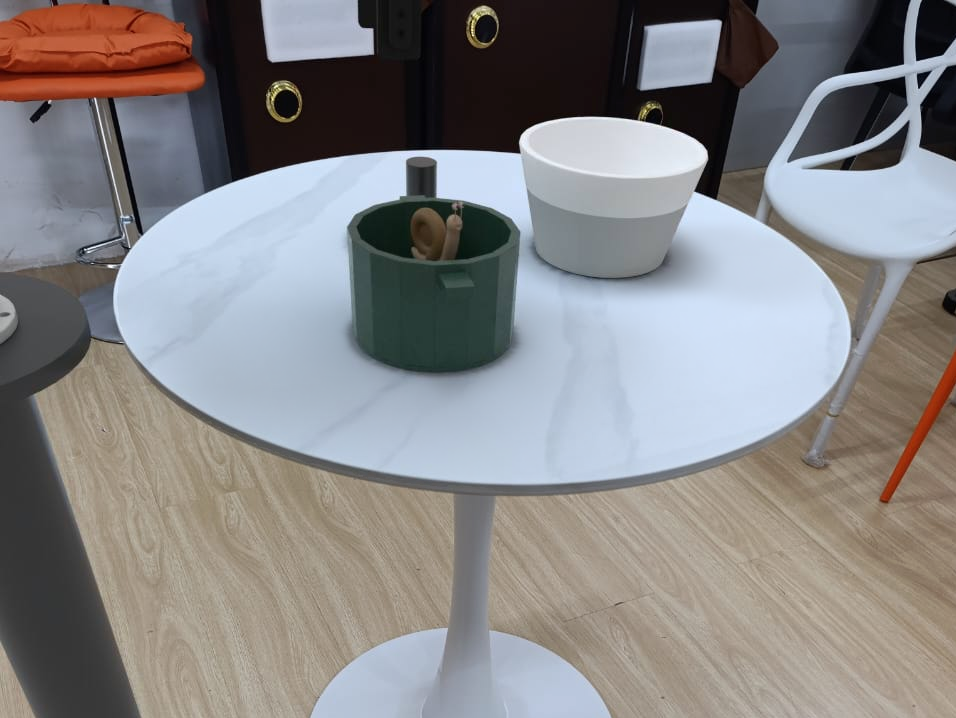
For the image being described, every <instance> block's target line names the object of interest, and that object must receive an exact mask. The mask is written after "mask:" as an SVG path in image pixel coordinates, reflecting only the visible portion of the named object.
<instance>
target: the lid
mask: <svg viewBox="0 0 956 718" xmlns="http://www.w3.org/2000/svg"><path fill="white" fill-rule="evenodd" d="M437 179H438V161H437V160H436V159H435V158H432V157H429V156H412V157H408V158H407V159H406V160H405V196H417V195H424V196H425V197H426V198H438V195H437V194H438V193H437V191H438V180H437Z"/></svg>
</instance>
